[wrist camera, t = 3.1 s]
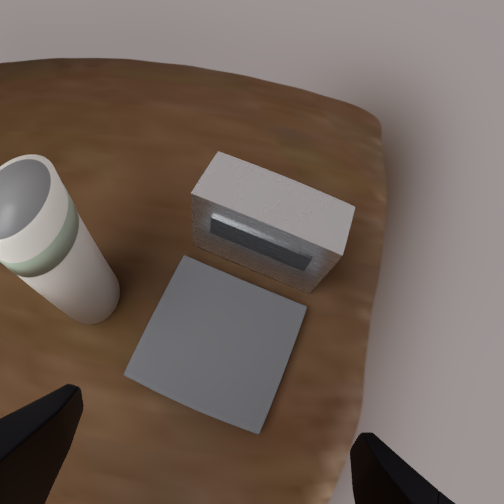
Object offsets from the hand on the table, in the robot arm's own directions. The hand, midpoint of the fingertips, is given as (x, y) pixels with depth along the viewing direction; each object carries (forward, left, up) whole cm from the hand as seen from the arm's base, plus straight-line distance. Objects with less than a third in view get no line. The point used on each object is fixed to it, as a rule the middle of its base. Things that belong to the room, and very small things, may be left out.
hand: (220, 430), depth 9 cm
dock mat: (+4, -3, -13) cm, 14 cm away
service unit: (+9, -10, -13) cm, 19 cm away
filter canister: (+12, +4, -13) cm, 18 cm away
